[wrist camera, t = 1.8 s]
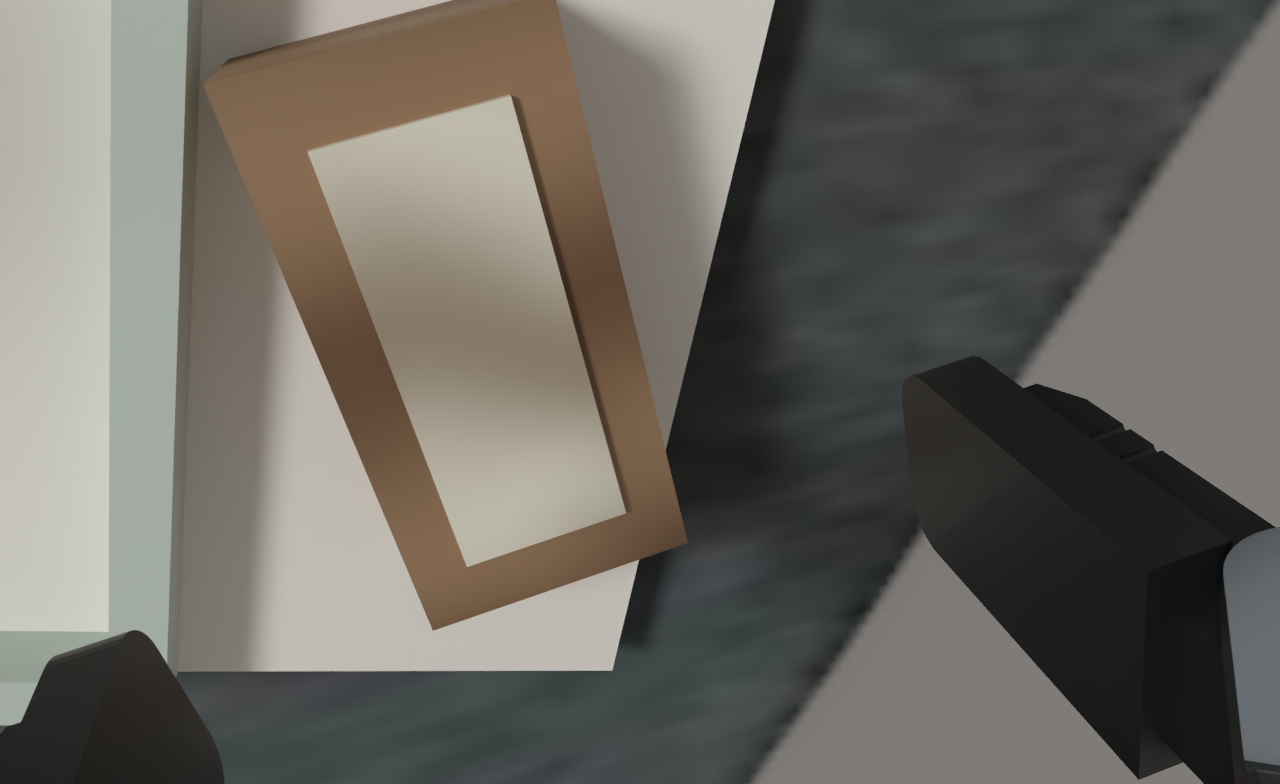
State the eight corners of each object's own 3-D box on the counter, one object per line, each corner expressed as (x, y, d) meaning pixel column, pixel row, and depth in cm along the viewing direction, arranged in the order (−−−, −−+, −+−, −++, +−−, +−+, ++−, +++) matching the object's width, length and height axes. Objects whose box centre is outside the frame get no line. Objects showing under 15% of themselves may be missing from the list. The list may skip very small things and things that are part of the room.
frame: (647, 466, 21) (690, 547, 18) (423, 541, 21) (433, 635, 18) (523, -19, 17) (555, -8, 14) (227, 58, 16) (201, 86, 13)
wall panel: (601, 638, 24) (633, 733, 22) (-341, 631, 19) (-470, 759, 16) (819, -295, 17) (913, -341, 14) (-632, -793, 11) (-977, -1045, 8)
